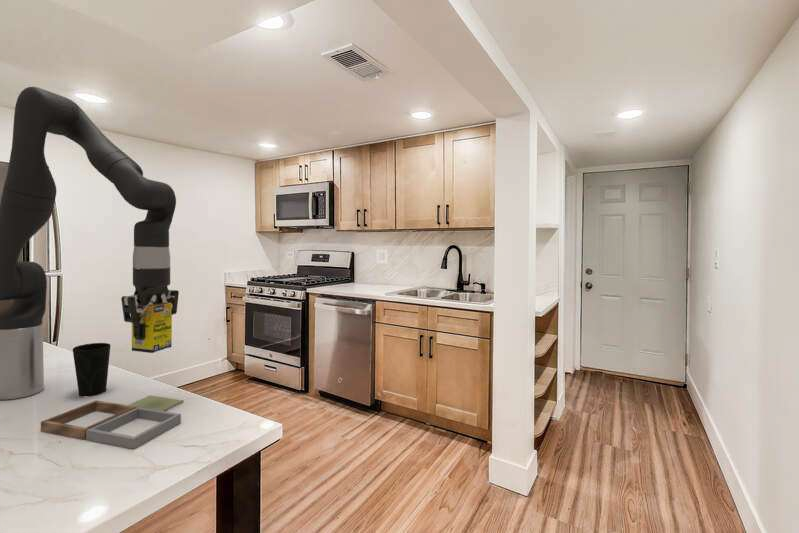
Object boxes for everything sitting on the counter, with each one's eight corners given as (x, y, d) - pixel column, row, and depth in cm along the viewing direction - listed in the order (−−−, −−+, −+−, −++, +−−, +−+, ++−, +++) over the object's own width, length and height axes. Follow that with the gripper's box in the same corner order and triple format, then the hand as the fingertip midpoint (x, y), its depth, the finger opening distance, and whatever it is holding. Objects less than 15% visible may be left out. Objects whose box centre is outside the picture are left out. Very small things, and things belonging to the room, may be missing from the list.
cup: (66, 394, 100) (65, 348, 99) (99, 385, 107) (98, 341, 106) (85, 400, 97) (84, 352, 96) (117, 389, 104) (117, 345, 103)
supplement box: (152, 353, 91) (152, 306, 90) (130, 351, 92) (130, 304, 91) (172, 347, 96) (172, 302, 96) (151, 344, 98) (151, 301, 97)
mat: (120, 409, 92) (120, 407, 92) (150, 397, 100) (150, 395, 100) (156, 415, 90) (156, 413, 90) (183, 402, 98) (183, 400, 98)
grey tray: (86, 440, 78) (86, 430, 78) (137, 415, 90) (137, 407, 90) (133, 449, 76) (133, 439, 76) (180, 422, 87) (180, 414, 87)
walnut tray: (40, 431, 81) (40, 421, 81) (96, 408, 92) (96, 400, 92) (84, 439, 78) (84, 430, 78) (136, 415, 90) (136, 406, 90)
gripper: (163, 263, 101) (163, 328, 102) (110, 266, 87) (110, 342, 88) (188, 265, 99) (188, 331, 100) (137, 268, 85) (138, 345, 86)
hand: (152, 336), depth 94 cm, fingers closed on supplement box, 6 cm apart
